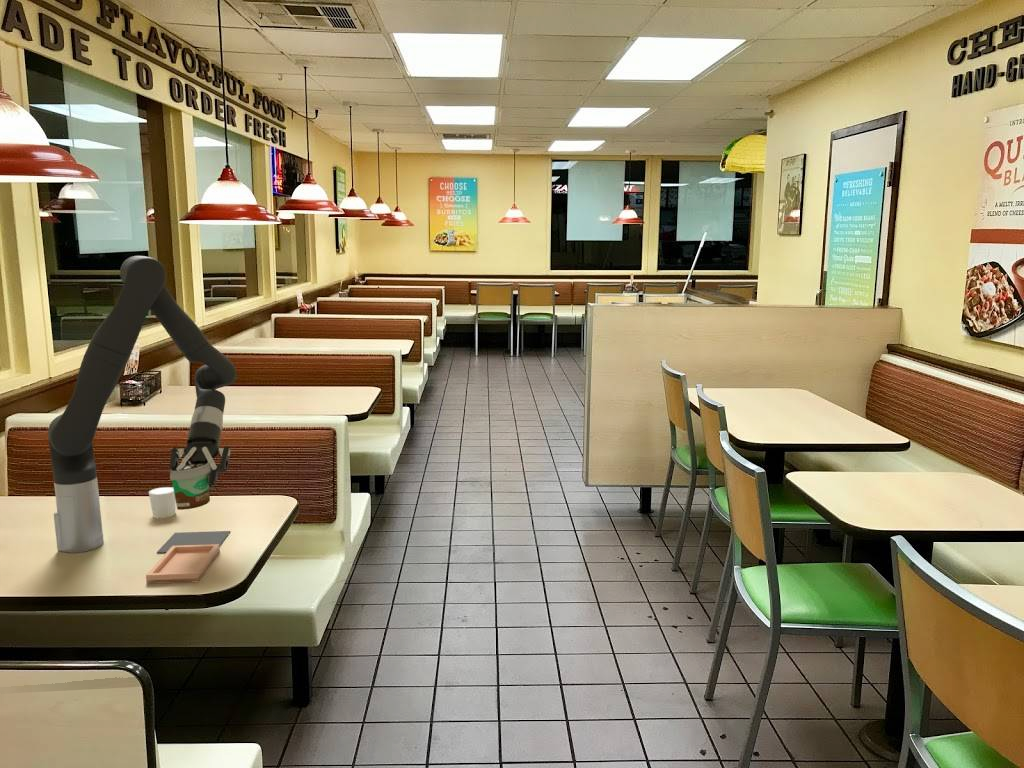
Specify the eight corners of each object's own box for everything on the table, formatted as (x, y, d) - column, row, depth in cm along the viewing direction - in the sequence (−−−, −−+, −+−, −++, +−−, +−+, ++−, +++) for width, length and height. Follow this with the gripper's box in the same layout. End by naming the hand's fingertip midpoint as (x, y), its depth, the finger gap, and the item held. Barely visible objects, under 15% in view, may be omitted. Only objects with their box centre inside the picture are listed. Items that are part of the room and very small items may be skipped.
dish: (146, 583, 170) (145, 575, 169) (173, 553, 186) (172, 545, 186) (198, 581, 170) (197, 573, 170) (219, 551, 187) (219, 544, 187)
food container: (197, 512, 182) (192, 472, 180) (173, 511, 183) (169, 471, 181) (224, 495, 194) (221, 457, 192) (202, 494, 195) (198, 456, 193)
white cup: (171, 518, 210) (168, 494, 209) (146, 518, 210) (143, 494, 209) (181, 510, 217) (180, 486, 216) (157, 510, 217) (155, 486, 216)
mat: (156, 553, 186) (156, 552, 186) (175, 533, 199) (174, 532, 199) (216, 551, 188) (216, 550, 188) (230, 531, 200) (230, 530, 200)
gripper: (172, 420, 192) (159, 480, 183) (231, 419, 193) (221, 478, 184) (181, 436, 198) (169, 494, 189) (238, 434, 200) (229, 492, 190)
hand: (195, 486), depth 186 cm, fingers closed on food container, 7 cm apart
